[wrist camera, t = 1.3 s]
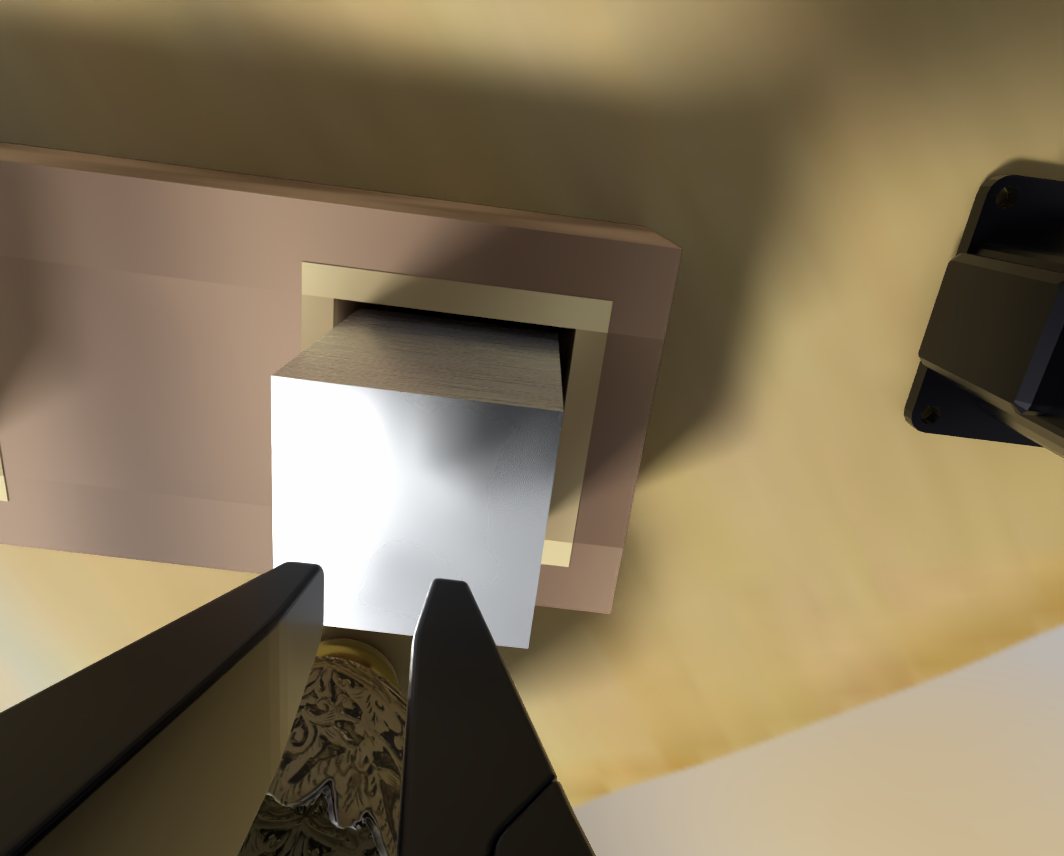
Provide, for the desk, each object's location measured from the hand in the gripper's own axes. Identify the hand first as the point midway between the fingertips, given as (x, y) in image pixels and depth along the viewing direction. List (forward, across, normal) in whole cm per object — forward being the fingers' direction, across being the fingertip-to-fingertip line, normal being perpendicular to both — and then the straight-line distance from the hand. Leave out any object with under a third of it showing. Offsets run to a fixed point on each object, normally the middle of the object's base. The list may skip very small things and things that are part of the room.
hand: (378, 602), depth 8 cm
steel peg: (+7, 0, 0) cm, 7 cm away
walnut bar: (+11, +6, 0) cm, 13 cm away
